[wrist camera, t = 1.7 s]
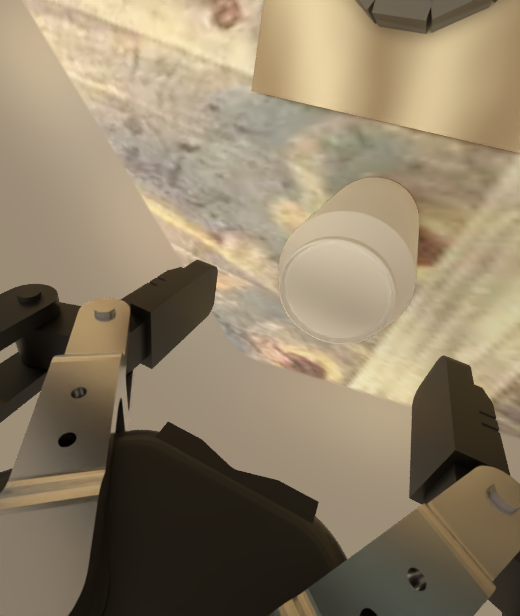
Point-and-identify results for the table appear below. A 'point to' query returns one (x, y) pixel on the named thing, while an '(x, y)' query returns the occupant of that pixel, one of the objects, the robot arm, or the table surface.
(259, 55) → the ring board
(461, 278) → the table surface
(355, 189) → the beverage can
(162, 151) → the table surface
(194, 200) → the table surface
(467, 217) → the table surface
